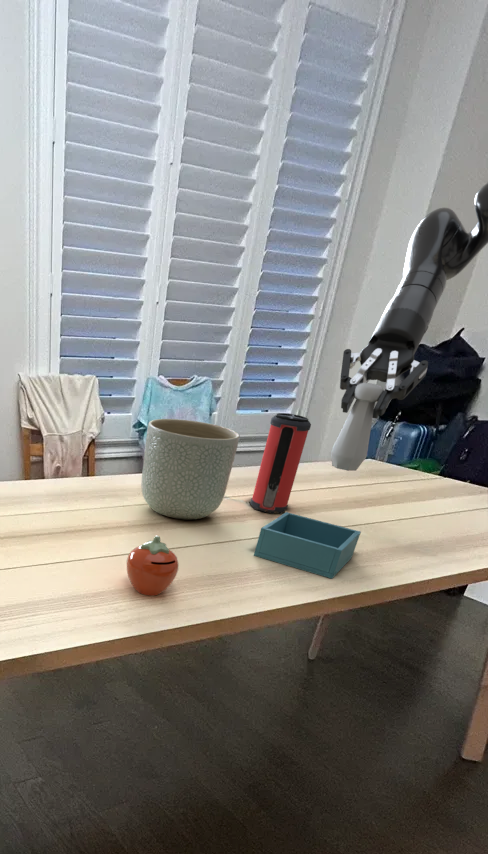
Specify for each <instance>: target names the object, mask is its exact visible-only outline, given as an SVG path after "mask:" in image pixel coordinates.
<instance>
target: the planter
mask: <svg viewBox="0 0 488 854" xmlns="http://www.w3.org/2000/svg"><path fill="white" fill-rule="evenodd" d="M145 437H146V438H145V446H144V455H143V463H142V471H141V472H142V473H141V486H140V487H141V494H142V497H143V500H144V501H145V503H146V504H147V505H148V506H149V508H151V510H153V511H154V512H156V513H157V514H159V515H161V516H165V517H168V518H172V519H178V520H188V521H189V520H192V521H193V520H200V519H203V518H206V517H207V516H210V515H211V514H213V513H214V512H215V511H216V510H217V509H218V508H219V507H220V506H221V504H222V501H223V500H224V498H225V495H226V492H227V488H228V486H229V485H228V484H229V481H230V476H231V473H232V469H233V466H234V461H235V457H236V455H237V451H238V446H239V442H240V438H241V436H240V434H239V433H238V432H237V431H235V430H233V429H230V428H228V427H225V426H221V425H219V424H218V425H217V424H213V423H209V422H203V421H197V420H189V419H181V418H180V419H178V418H157V419H152V420H150V421H149V422H148V424H147V429H146V436H145Z"/></svg>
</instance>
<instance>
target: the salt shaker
mask: <svg viewBox="0 0 488 854" xmlns="http://www.w3.org/2000/svg"><path fill="white" fill-rule="evenodd" d="M383 388H384V387H383V386H382V385H380V384H377V383H371V382H368V383H361V384H359V385H357V387H356V389H355V391H354V400H355V401H354V403H353V405H352V407H351V409H350V411H349V413H348V415H347V417H346V419H345V422H343V425H342V427H341V430H340V432H339V434H338V435H337V438H336V439H335V441H334V443H333V446H332V448H331V451H330V457H331V466H332V467H334V468H336V469H339V470H343V471H348V472H349V471H350V472H351V471H352V472H355V471H357V470H358V469H359V467H360V466H361V465H362V464H363V462H364V461H365V460H366V458H367V456H368V451H369V443H370V437H371V430H372V424H373V411H374V408H375V406H376V403H377V402H378V400H379V398H380V395H381V393H382V391H383V390H384V389H383Z"/></svg>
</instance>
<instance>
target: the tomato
mask: <svg viewBox="0 0 488 854" xmlns="http://www.w3.org/2000/svg"><path fill="white" fill-rule="evenodd" d="M179 566H180V564H179V559H178V556H177V555H176V554H175V552H173V550H171V549H170V548H169V547H168V546H167V544H166V543H164V542H162V541H161V537H160V536H159V535H155V536H154V537H153V540H148V541H146V542H144V543H143V544H141V545H138V546H136V547H134V548H133V549H131V551H130V552H129V554H128V555H127V557H126V574H127V577H128V580H129V583H130V584H131V586H132V587H133V588H134V590H135V591H136V592H138V593H139V594H141V595H144V596H149V597H151V596H153V597H155V596H159V595H160V594H161V593H163V592H165V591H166V590H167V589H168V588H169V587H170V586H171V585H172V584H173V582H174V581H175V579H176V577H177V575H178V571H179V569H180V567H179Z"/></svg>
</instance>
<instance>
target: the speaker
mask: <svg viewBox="0 0 488 854" xmlns="http://www.w3.org/2000/svg"><path fill="white" fill-rule="evenodd" d="M269 422H270V426H269V431H268V434H267V439H266V443H265V445H264V446H265V447H264V450H263V454H262V458H261V463H260V466H259V471H258V473H257V478H256V481H255V486H254V490H253V494H252V497H251V499H250V501H249V505H250V506H251V507H252V508H253V509H254V510H256V511H259V512H263V513H266V514H272V515H273V514H281V515H282V514H284V513H286V511H287V510H288V506H289V505H288V503H289V500H290V497H291V493H292V489H293V487H294V482H295V479H296V476H297V472H298V468H299V465H300V462H301V458H302V454H303V450H304V447H305V443H306V442H307V441H306V440H307V437H308V434H309V431H310V430H311V426H312V424H311V422H310V421H309V418H308V417H306V416H303V415H299V414H293V413H286V412H285V413H284V412H280V413H279V412H278V413H276V415H274V416H272V417H271V419H270V421H269Z"/></svg>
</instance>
